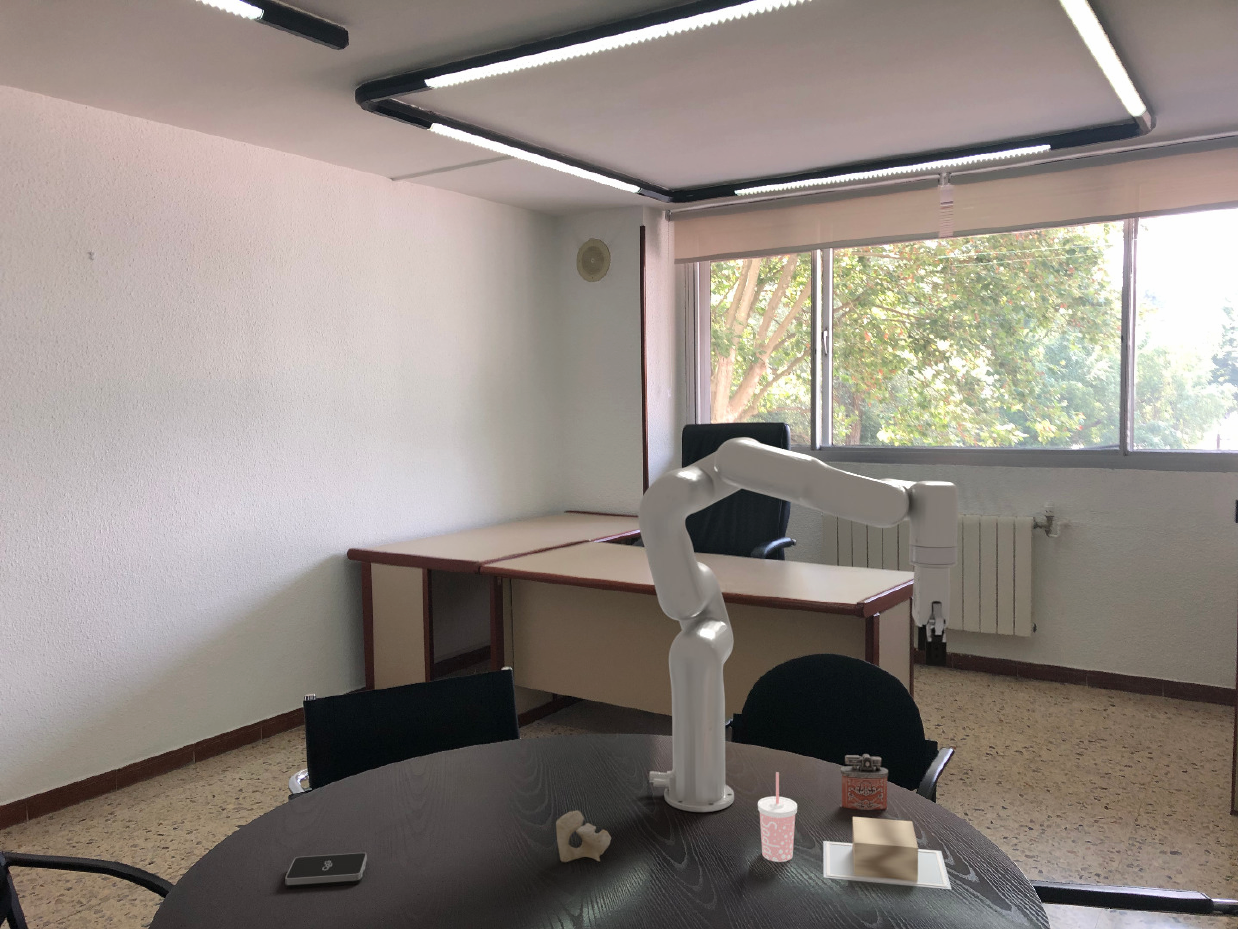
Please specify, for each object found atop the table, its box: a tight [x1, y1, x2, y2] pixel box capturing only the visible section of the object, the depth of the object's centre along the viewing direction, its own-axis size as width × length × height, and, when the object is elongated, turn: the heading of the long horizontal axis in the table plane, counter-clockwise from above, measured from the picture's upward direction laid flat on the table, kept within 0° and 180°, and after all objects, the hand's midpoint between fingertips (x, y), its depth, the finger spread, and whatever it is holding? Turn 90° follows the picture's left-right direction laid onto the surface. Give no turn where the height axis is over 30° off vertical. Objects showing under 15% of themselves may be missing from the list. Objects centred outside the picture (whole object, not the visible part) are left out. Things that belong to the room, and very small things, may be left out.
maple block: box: [852, 816, 919, 881], centre depth 142 cm, size 9×9×5 cm
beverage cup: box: [757, 771, 798, 863], centre depth 145 cm, size 6×6×14 cm
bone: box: [555, 810, 612, 863], centre depth 147 cm, size 9×6×10 cm
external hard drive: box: [285, 852, 368, 890], centre depth 142 cm, size 7×11×2 cm, turn 97°
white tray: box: [822, 840, 952, 891], centre depth 142 cm, size 18×12×1 cm, turn 78°
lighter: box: [840, 753, 889, 811], centre depth 162 cm, size 8×3×10 cm, turn 84°
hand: (931, 657), depth 155 cm, fingers open, 9 cm apart
